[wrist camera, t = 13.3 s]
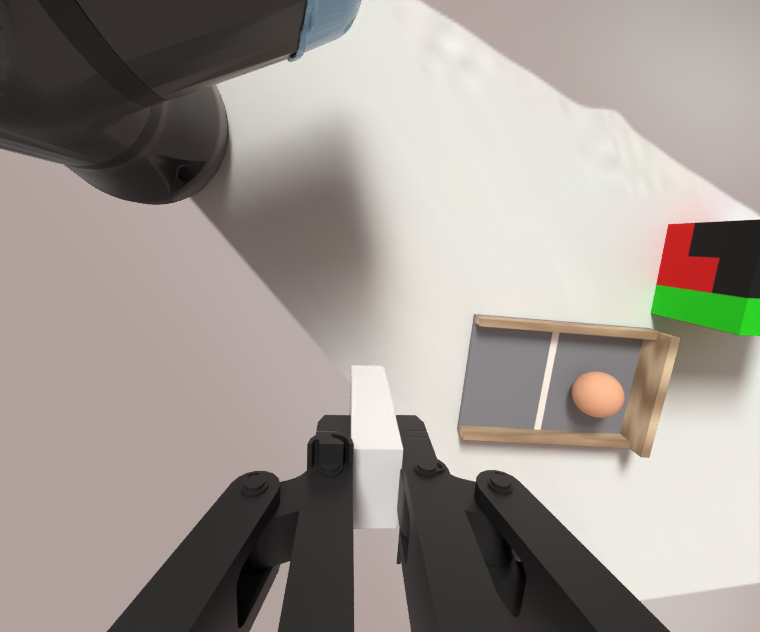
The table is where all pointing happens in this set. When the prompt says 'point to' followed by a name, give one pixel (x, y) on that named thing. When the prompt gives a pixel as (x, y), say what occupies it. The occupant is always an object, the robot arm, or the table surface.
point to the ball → (598, 394)
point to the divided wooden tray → (642, 398)
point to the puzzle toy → (711, 276)
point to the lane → (541, 377)
